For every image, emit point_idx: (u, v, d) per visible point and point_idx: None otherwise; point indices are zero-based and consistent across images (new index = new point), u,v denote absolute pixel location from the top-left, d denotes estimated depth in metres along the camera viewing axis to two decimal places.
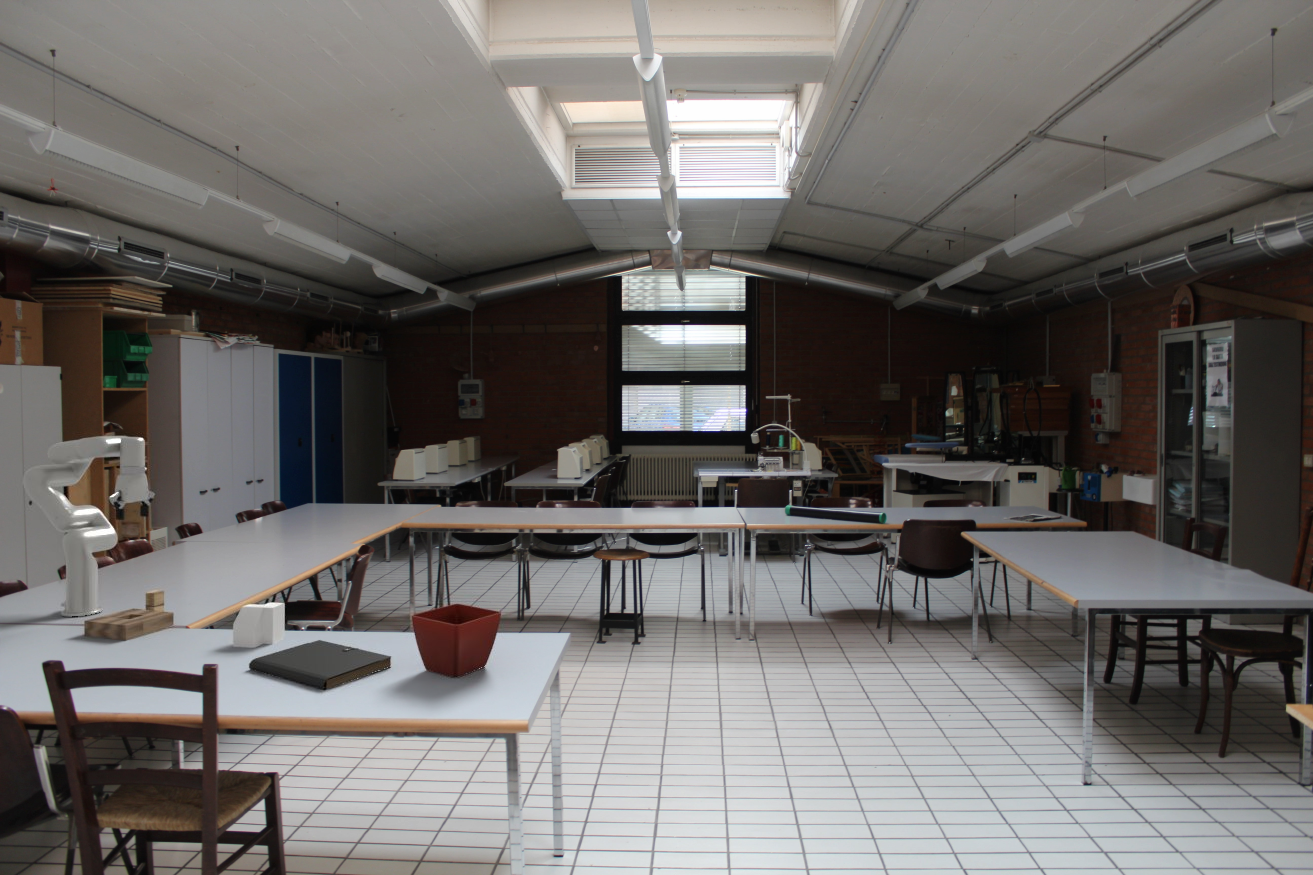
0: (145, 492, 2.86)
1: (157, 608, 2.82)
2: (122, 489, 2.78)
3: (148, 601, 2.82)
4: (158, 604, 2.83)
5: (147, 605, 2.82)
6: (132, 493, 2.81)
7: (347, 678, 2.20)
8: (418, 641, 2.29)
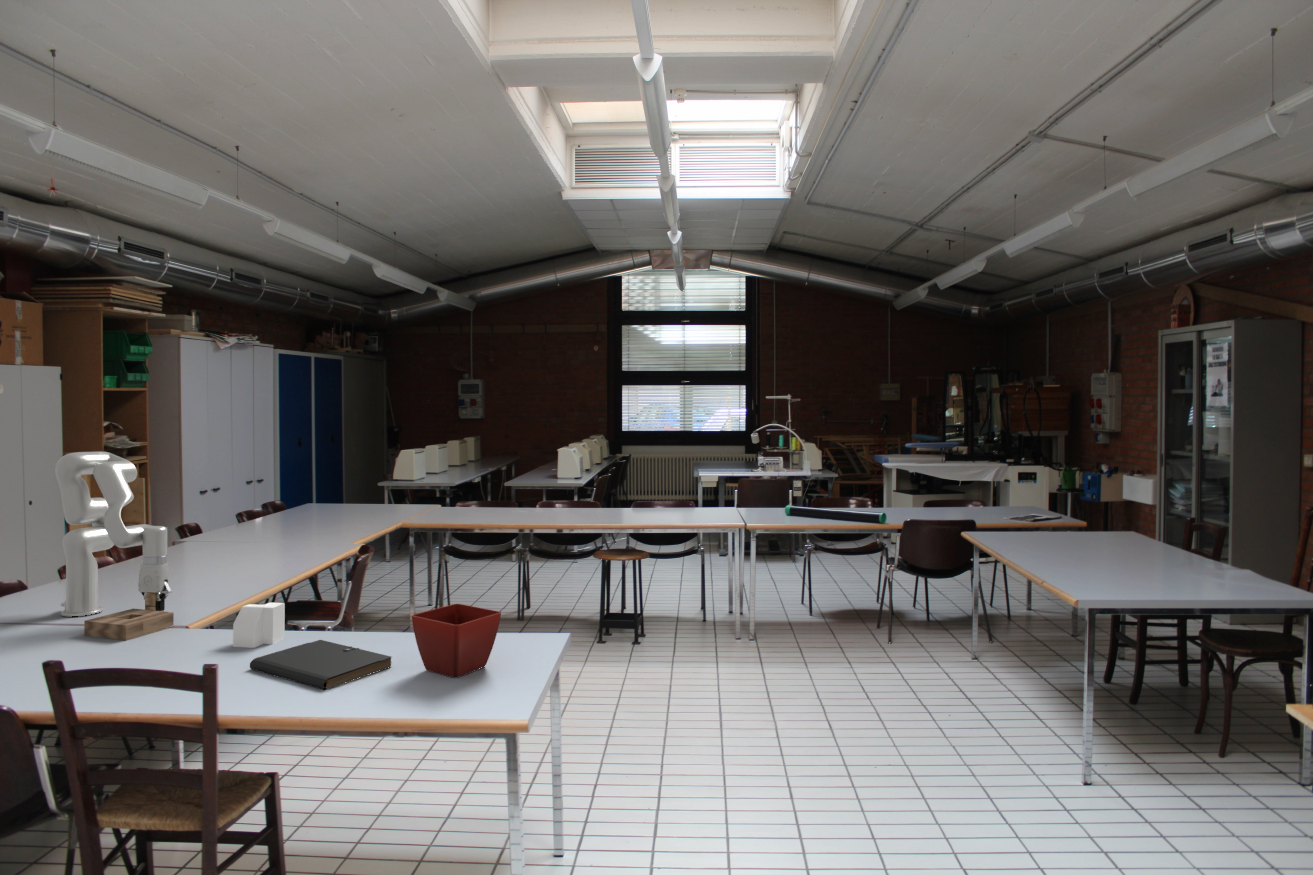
0: None
1: None
2: (168, 577, 2.83)
3: (148, 601, 2.82)
4: None
5: (147, 605, 2.82)
6: None
7: (347, 678, 2.20)
8: (418, 641, 2.29)
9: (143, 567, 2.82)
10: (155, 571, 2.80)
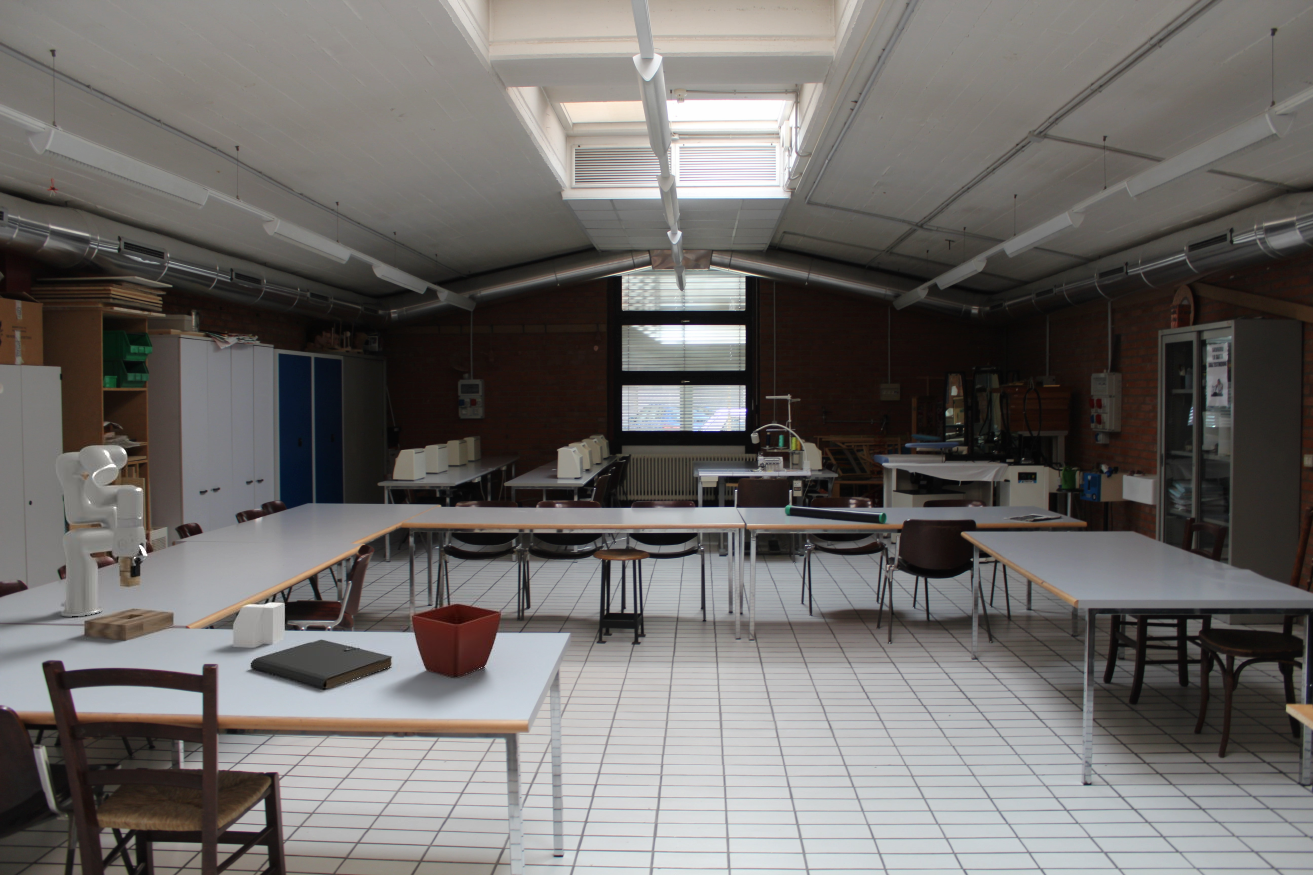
0: None
1: None
2: (144, 541, 2.67)
3: (123, 566, 2.66)
4: None
5: (122, 570, 2.66)
6: None
7: (347, 678, 2.20)
8: (418, 641, 2.29)
9: (117, 530, 2.65)
10: (130, 534, 2.64)
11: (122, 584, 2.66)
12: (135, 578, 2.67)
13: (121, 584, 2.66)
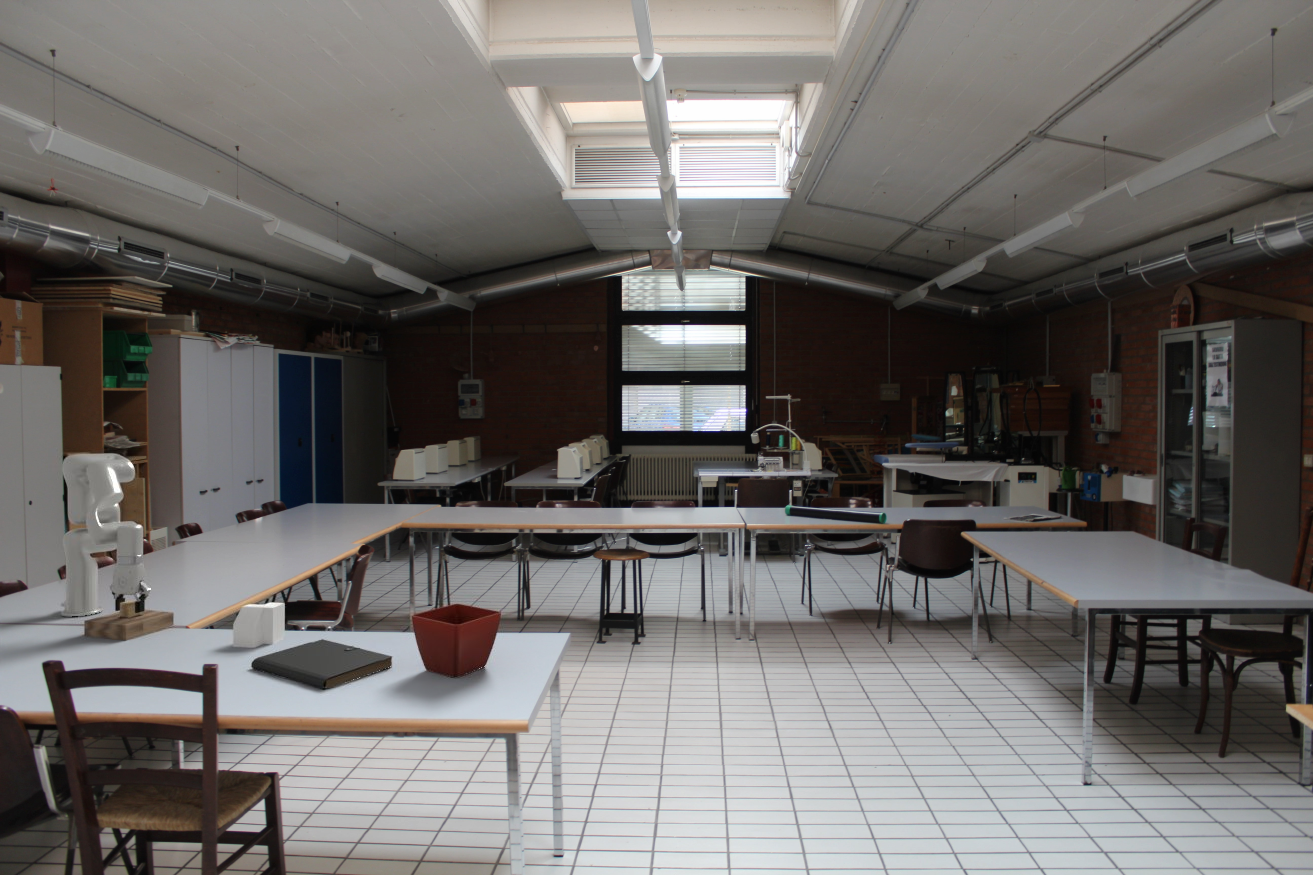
0: None
1: None
2: (144, 578, 2.67)
3: (122, 612, 2.66)
4: (133, 615, 2.67)
5: (121, 616, 2.66)
6: None
7: (347, 678, 2.21)
8: (418, 641, 2.29)
9: (117, 567, 2.66)
10: (130, 572, 2.64)
11: None
12: None
13: None
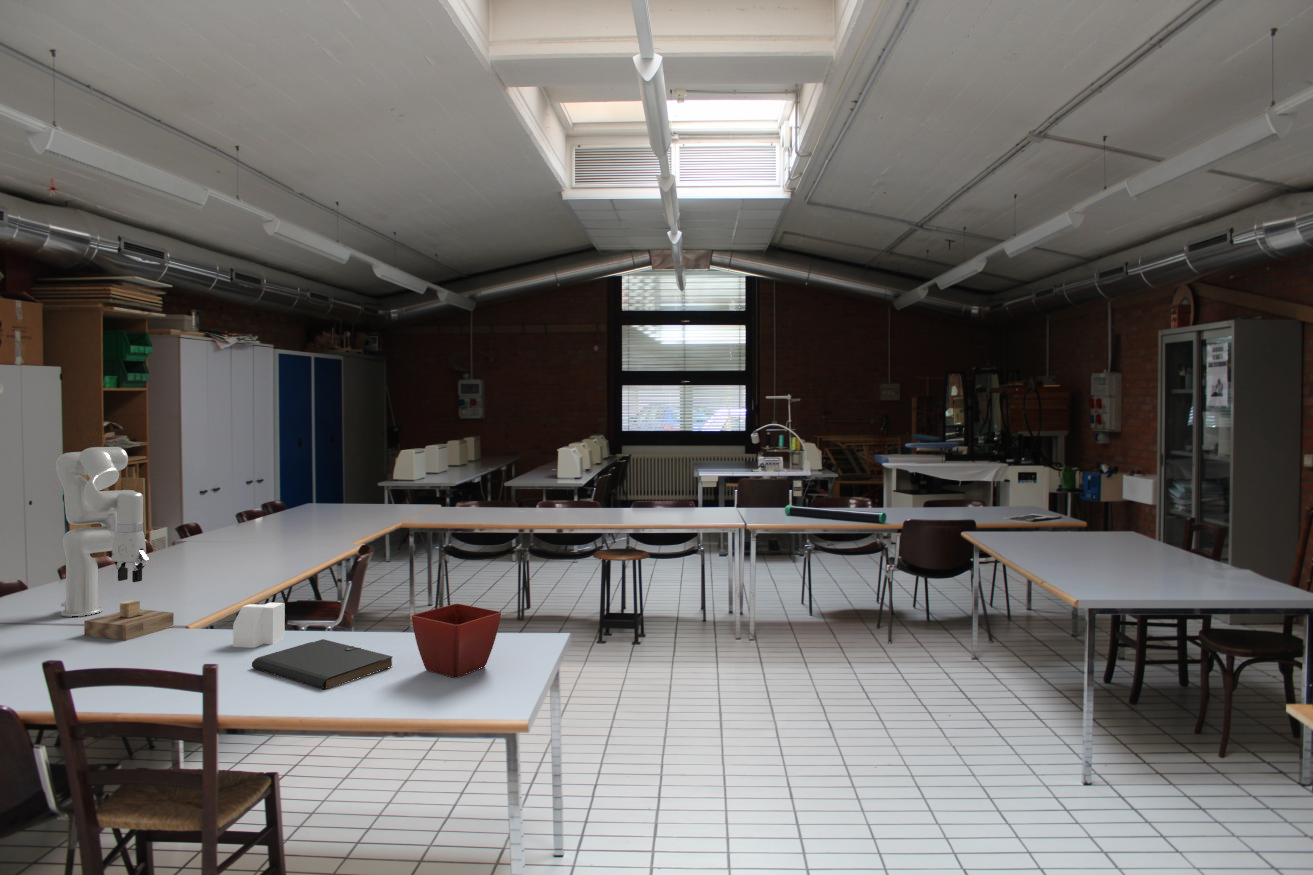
0: None
1: None
2: (144, 546, 2.67)
3: (122, 612, 2.66)
4: (133, 615, 2.67)
5: (121, 616, 2.66)
6: None
7: (347, 678, 2.21)
8: (418, 641, 2.29)
9: (117, 535, 2.65)
10: (130, 540, 2.64)
11: None
12: None
13: None
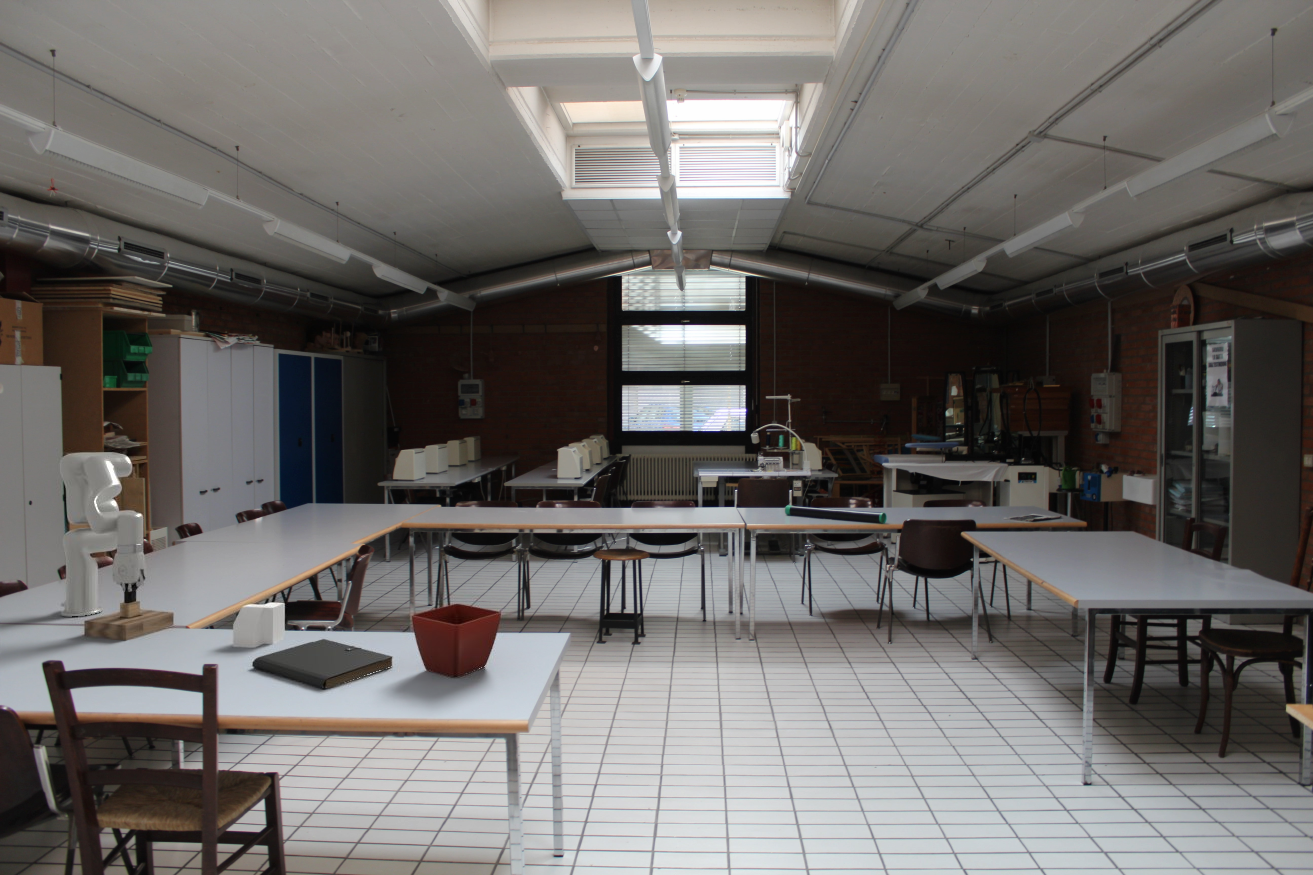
0: None
1: None
2: (144, 567, 2.67)
3: (122, 612, 2.66)
4: (133, 615, 2.67)
5: (121, 616, 2.66)
6: None
7: (347, 678, 2.21)
8: (418, 641, 2.29)
9: (117, 556, 2.65)
10: (130, 561, 2.64)
11: None
12: None
13: None
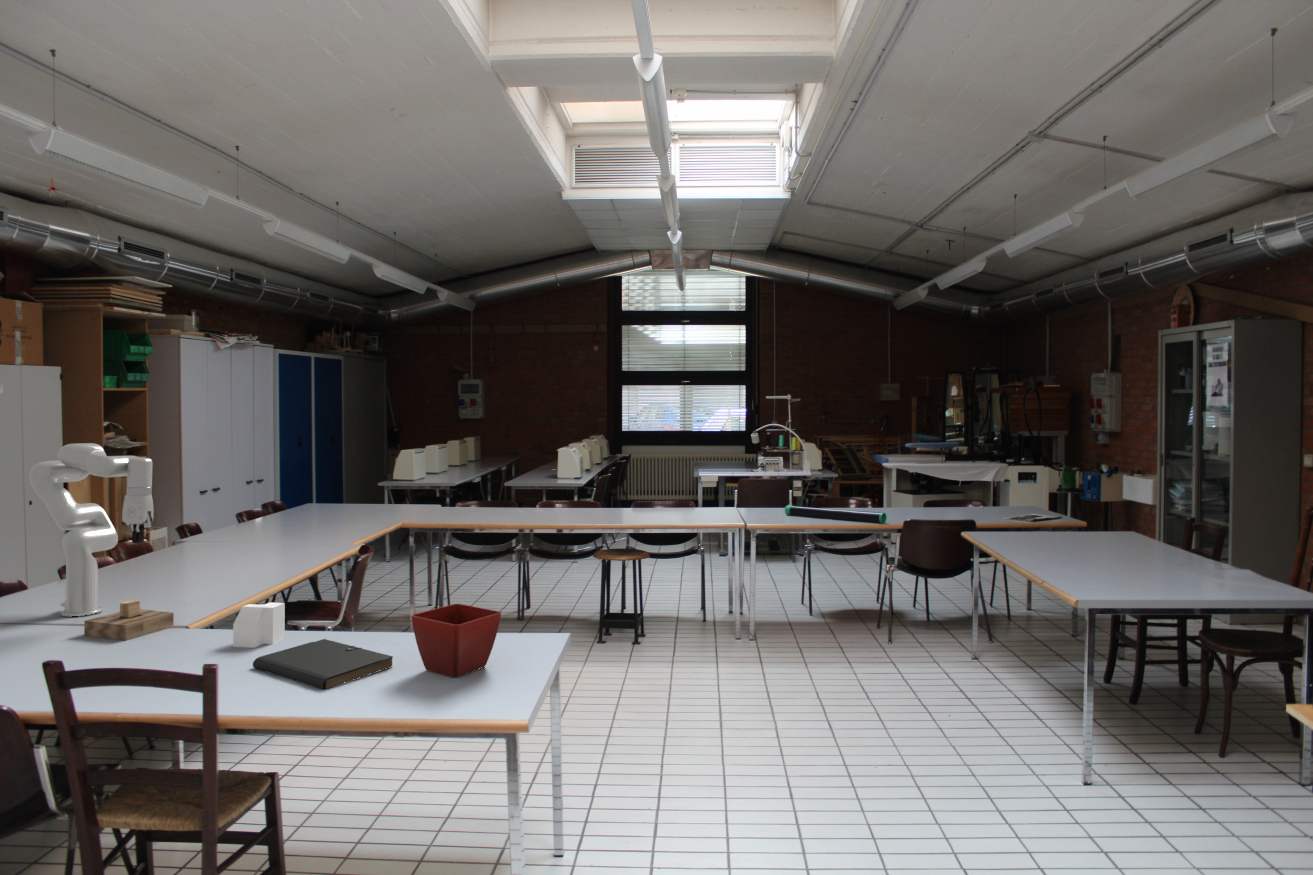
0: None
1: None
2: (152, 509, 2.81)
3: (122, 612, 2.66)
4: (133, 615, 2.67)
5: (121, 616, 2.66)
6: None
7: (347, 678, 2.21)
8: (418, 641, 2.29)
9: (127, 498, 2.79)
10: (139, 503, 2.78)
11: None
12: None
13: None
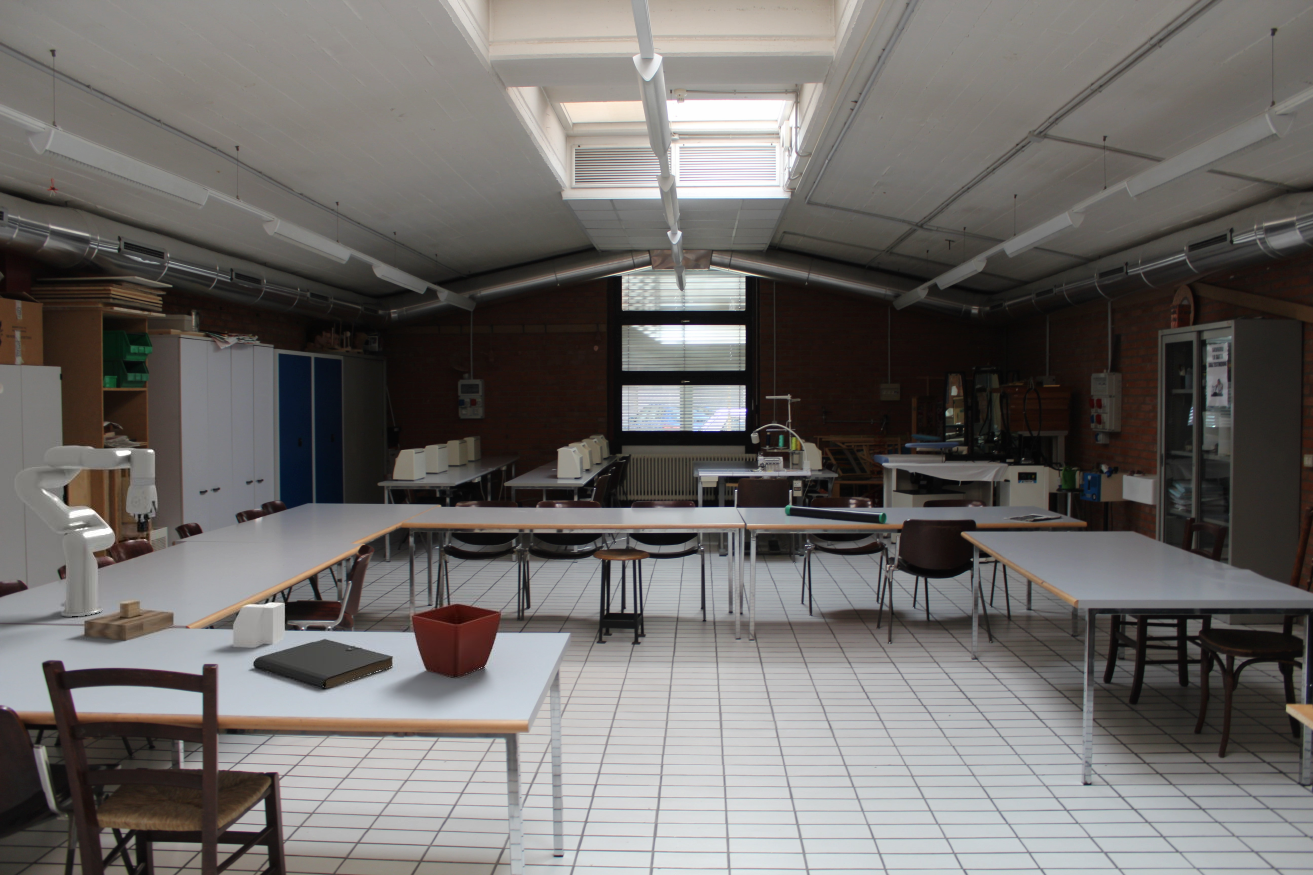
0: None
1: None
2: (155, 499, 2.87)
3: (122, 612, 2.66)
4: (133, 615, 2.67)
5: (121, 616, 2.66)
6: None
7: (347, 678, 2.21)
8: (418, 641, 2.29)
9: (131, 488, 2.85)
10: (143, 492, 2.84)
11: None
12: None
13: None
